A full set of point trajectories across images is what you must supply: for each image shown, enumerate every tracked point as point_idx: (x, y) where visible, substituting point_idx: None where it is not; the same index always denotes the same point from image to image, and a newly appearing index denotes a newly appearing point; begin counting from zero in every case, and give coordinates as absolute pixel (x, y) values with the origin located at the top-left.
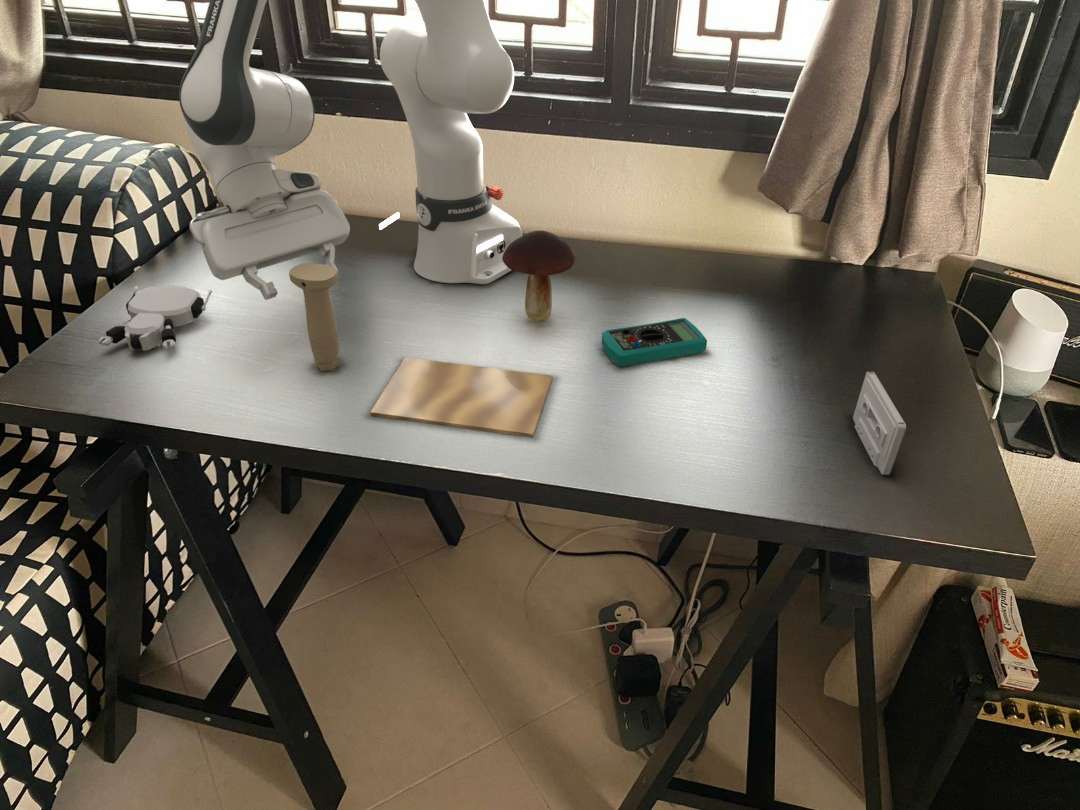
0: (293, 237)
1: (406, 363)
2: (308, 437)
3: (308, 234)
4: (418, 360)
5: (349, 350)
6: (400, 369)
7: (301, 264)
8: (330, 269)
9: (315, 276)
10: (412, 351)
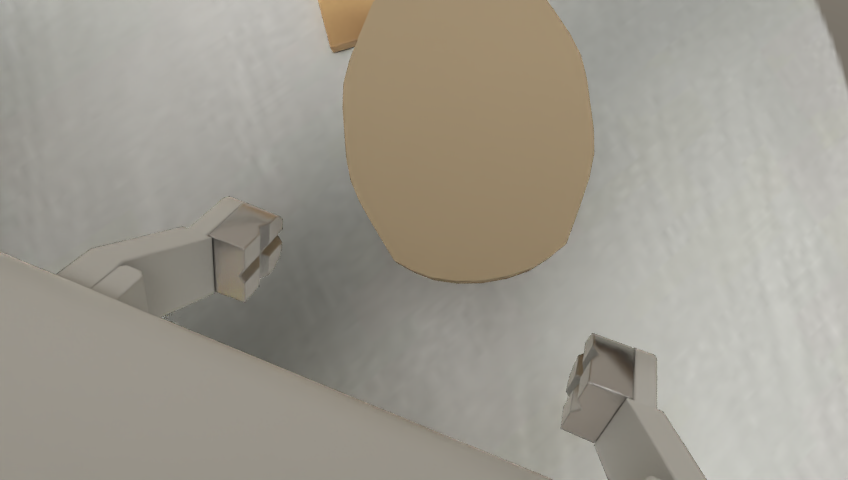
0: (231, 447)
1: (358, 21)
2: (788, 47)
3: (112, 379)
4: (327, 3)
5: (360, 234)
6: None
7: (413, 260)
8: (383, 44)
9: (511, 61)
10: (278, 65)
